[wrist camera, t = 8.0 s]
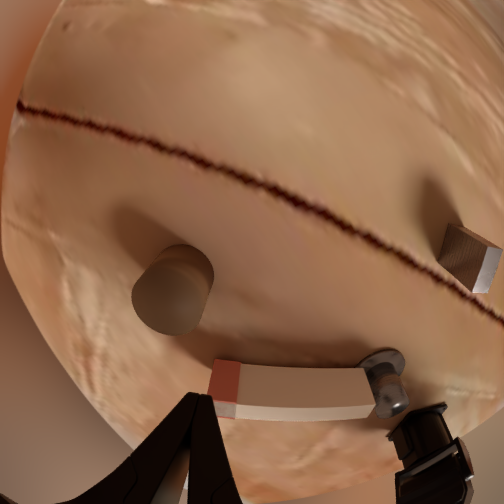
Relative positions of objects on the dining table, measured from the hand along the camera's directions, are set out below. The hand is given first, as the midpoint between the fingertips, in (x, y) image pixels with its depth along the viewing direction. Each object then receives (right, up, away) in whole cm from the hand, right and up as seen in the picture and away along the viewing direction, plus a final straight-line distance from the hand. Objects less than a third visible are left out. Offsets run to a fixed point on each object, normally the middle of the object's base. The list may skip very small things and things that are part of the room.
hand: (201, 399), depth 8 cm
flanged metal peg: (+13, -5, +12) cm, 18 cm away
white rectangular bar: (+5, -5, +12) cm, 13 cm away
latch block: (+16, +6, +7) cm, 19 cm away
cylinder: (-3, +4, +9) cm, 10 cm away
